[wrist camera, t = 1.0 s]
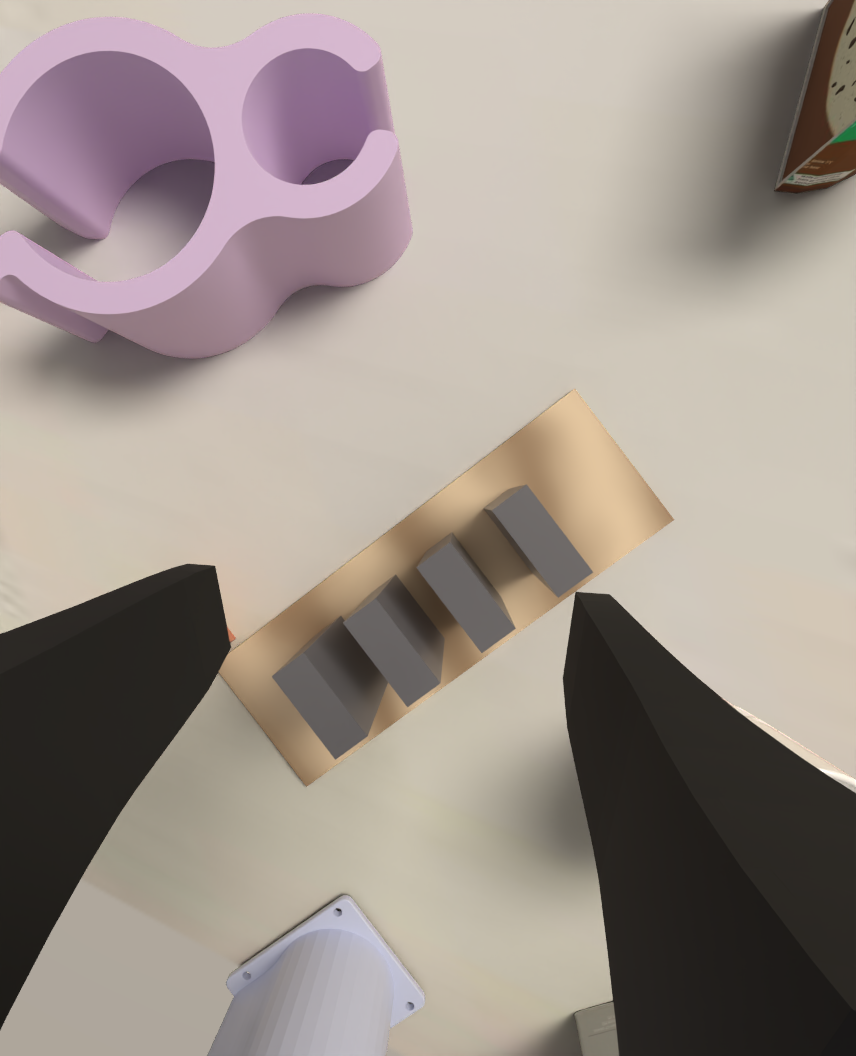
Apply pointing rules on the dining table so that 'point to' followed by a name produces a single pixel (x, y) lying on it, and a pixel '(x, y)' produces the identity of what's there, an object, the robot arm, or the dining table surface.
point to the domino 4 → (538, 539)
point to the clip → (212, 135)
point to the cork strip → (526, 458)
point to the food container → (825, 108)
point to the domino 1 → (334, 687)
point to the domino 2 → (399, 640)
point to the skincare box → (597, 1030)
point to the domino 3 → (466, 592)
